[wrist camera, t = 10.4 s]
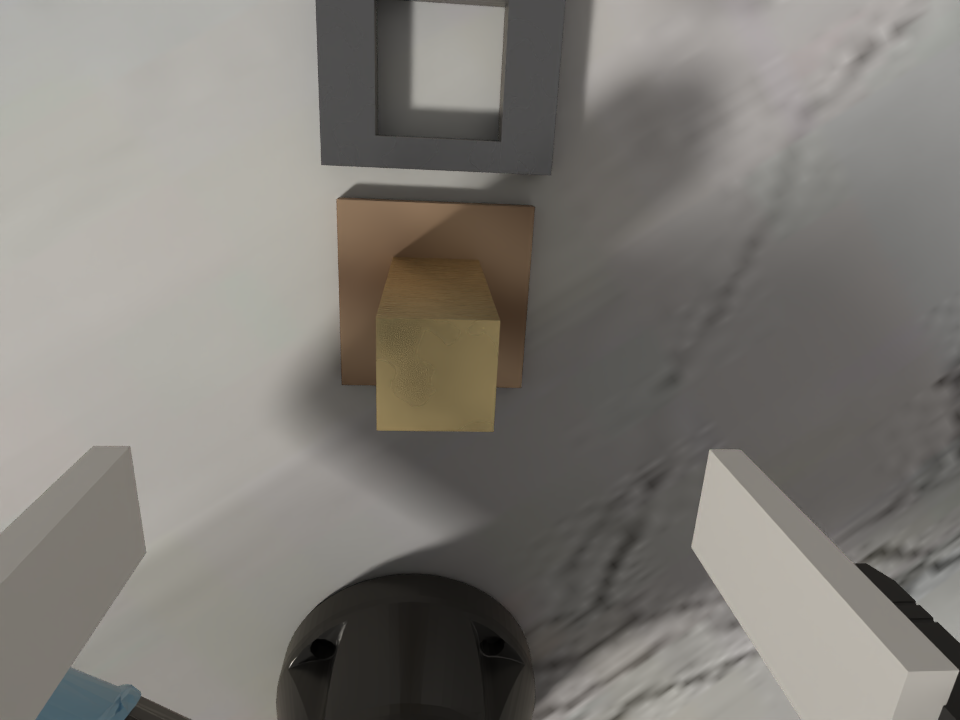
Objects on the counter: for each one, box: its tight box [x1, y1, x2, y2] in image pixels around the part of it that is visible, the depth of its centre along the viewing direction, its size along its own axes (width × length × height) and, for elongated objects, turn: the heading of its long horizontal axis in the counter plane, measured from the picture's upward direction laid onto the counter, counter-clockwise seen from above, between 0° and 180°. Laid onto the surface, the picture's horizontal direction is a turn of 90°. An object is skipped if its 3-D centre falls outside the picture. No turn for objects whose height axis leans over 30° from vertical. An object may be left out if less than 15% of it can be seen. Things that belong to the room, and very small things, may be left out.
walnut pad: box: [337, 197, 535, 388], centre depth 31 cm, size 9×9×1 cm
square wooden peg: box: [376, 257, 500, 432], centre depth 26 cm, size 4×4×10 cm
